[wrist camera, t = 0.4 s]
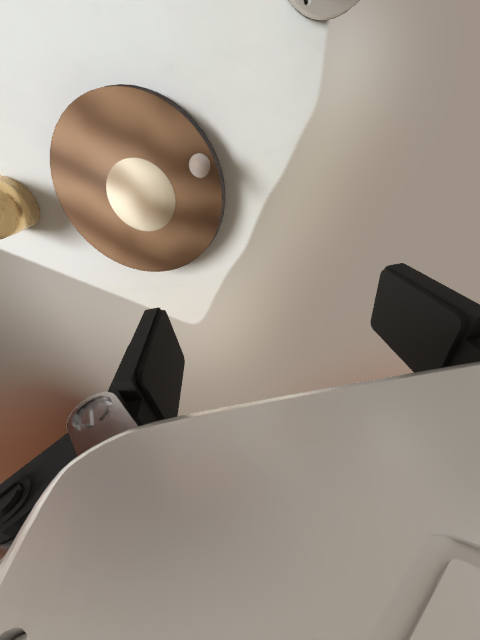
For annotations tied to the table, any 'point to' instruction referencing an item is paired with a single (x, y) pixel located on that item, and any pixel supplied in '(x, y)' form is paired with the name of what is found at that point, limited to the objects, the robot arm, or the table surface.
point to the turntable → (136, 178)
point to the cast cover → (16, 207)
